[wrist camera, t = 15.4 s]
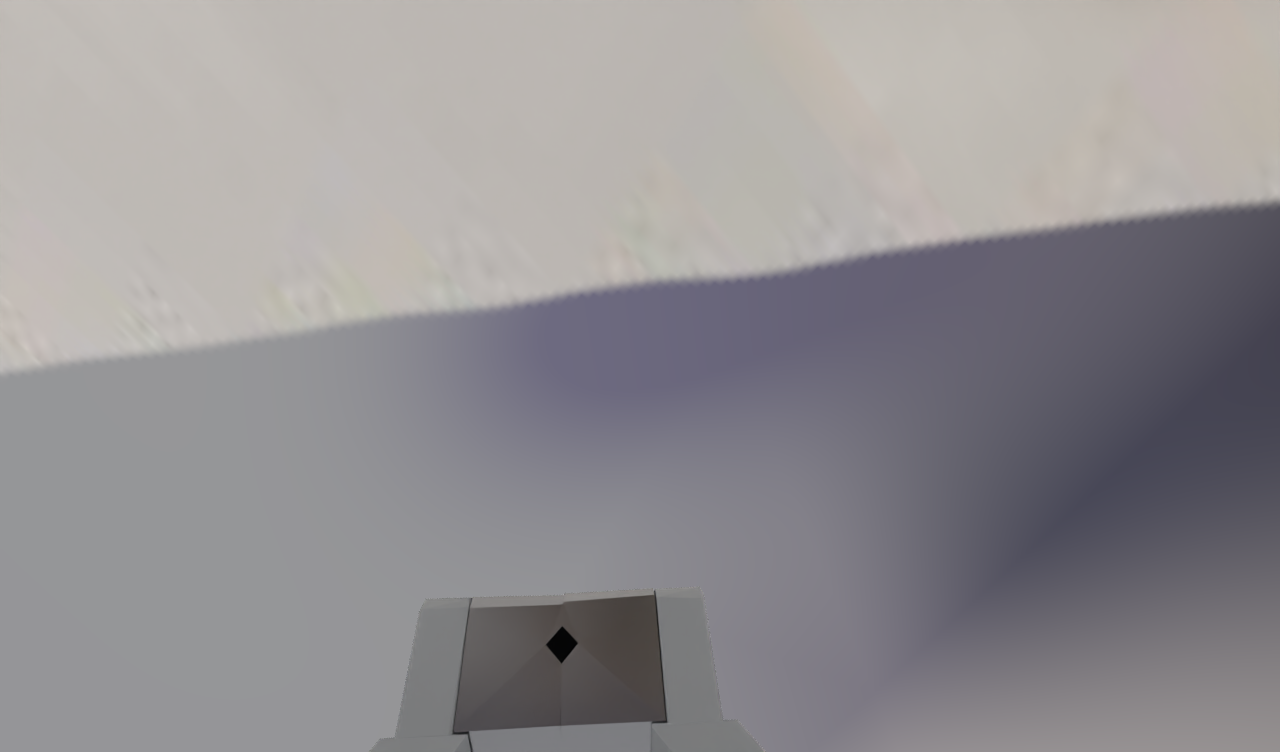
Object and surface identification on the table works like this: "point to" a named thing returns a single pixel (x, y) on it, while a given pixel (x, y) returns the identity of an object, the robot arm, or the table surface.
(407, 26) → the table surface
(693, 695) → the robot arm
